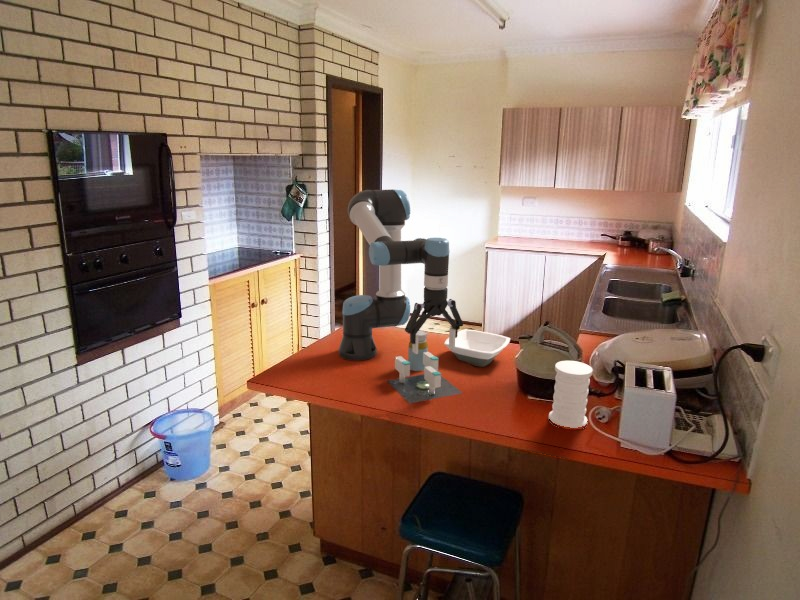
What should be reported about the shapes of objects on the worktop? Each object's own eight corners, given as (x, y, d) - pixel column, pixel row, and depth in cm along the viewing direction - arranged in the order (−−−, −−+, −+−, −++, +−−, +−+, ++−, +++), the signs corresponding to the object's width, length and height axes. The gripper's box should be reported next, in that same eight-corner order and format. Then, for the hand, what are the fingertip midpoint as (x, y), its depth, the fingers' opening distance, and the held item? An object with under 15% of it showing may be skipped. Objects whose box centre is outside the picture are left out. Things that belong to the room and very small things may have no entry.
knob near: (394, 378, 197) (395, 356, 195) (400, 377, 198) (401, 355, 196) (403, 386, 191) (404, 363, 188) (409, 385, 192) (410, 362, 189)
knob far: (422, 373, 202) (422, 351, 199) (427, 372, 203) (428, 350, 200) (432, 381, 195) (432, 359, 193) (437, 380, 196) (438, 358, 194)
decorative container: (543, 423, 170) (549, 369, 165) (554, 408, 180) (560, 357, 175) (581, 434, 165) (588, 378, 160) (591, 418, 174) (598, 365, 169)
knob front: (423, 389, 189) (424, 366, 187) (429, 387, 190) (430, 365, 188) (434, 398, 182) (435, 374, 180) (440, 397, 183) (441, 373, 181)
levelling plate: (386, 383, 196) (386, 378, 196) (436, 375, 204) (436, 369, 204) (409, 406, 180) (409, 400, 179) (462, 396, 188) (463, 390, 187)
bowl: (494, 376, 204) (495, 355, 202) (438, 363, 215) (438, 343, 212) (513, 357, 222) (515, 337, 220) (461, 346, 233) (462, 327, 231)
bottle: (425, 374, 204) (426, 336, 200) (406, 373, 205) (407, 335, 201) (428, 367, 211) (429, 330, 207) (410, 365, 212) (410, 328, 208)
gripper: (405, 293, 168) (404, 359, 173) (475, 286, 178) (472, 348, 183) (395, 287, 174) (394, 351, 180) (463, 281, 184) (460, 341, 190)
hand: (433, 349), depth 182 cm, fingers open, 13 cm apart
